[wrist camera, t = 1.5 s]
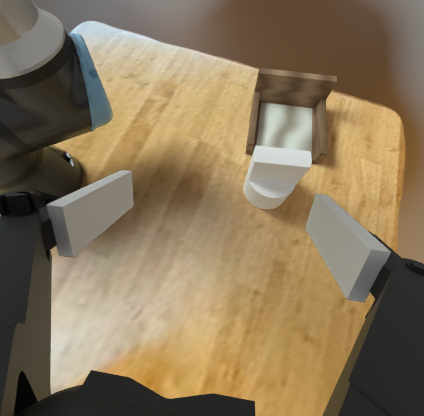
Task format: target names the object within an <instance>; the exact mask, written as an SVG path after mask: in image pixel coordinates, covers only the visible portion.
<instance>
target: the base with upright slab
mask: <svg viewBox="0 0 424 416" xmlns="http://www.w3.org/2000/svg"><path fill="white" fill-rule="evenodd" d="M311 163H312V157H311V153H310V151H305V150H295V149H285V148H276V147H266V146H255V149H254V152H253V155H252V159H251V162H250V166H249V169H248V172H247V176H246V179H245V182H244V187H243V188H244V194H245V197H246V198H247V200H248V201H249V202H250V203H251V204H252V205H253V206H255V207H257V208H260V209H273V208H276V207H278V206H280V205H281V204H282V203H283V202H284V200H285V199H286V198H287V197H288V196H289V194H290V193H291V192H292V191H293V190H294V188H295V186H296V184H297V183H298V182H299V181H300V180H301V178H302V177H303V176H304V175H305V173H306V172H307V171H308V170H309V169H310V167H311Z"/></svg>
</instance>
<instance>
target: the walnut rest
mask: <svg viewBox="0 0 424 416" xmlns="http://www.w3.org/2000/svg"><path fill="white" fill-rule="evenodd" d="M336 82H337V77H336V76H328V75H319V74H310V73H300V72H292V71H282V70H273V69H264V68H259V72H258V77H257V82H256V86H255V91H254V96H253V101H252V109H251V116H250V124H249V131H248V139H247V146H246V154H251V155H253V152H254V149H255V146H266V147H276V148H285V149H295V150H305V151H310V153H311V157H312V163H316V164H319V163H320V162H321V160H322V159H323V158H324V157H325V156H326V155H327V128H326V99H327V97H328V95H329V94H330V92H331V90H332V89H333V87H334V86H335V84H336Z"/></svg>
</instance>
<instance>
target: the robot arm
mask: <svg viewBox="0 0 424 416" xmlns="http://www.w3.org/2000/svg"><path fill="white" fill-rule="evenodd" d="M112 117H113V111H112V108H111V106H110V103H109V100H108V98H107V95H106V93H105V90H104V88H103V85H102V83H101V80H100V78H99V76H98V73H97V71H96V68H95V66H94V63H93V60H92V58H91V56H90V53H89V51H88V48H87V46H86V44H85V41H84V39H83V37H82V36H81V35H79V34H73V33H70V34H69V35H68V34H67V32H66V30H65V29H64V27H63V25H62V24H61V22H60V21H59V20H58V19H57V18H56V17H55V16H53V15H52V14H50V13H48V12H46V11H44V10H42V9H39V8H37V7H36V6H35V5H34V4H33V2H32V0H0V214H1V216H0V416H255V401H250V400H245V399H240V398H234V397H229V396H224V395H219V394H205V395H197V396H189V397H182V398H174V399H167V398H164V397H162V396H160V395H159V394H157V393H155V392H154V391H152V390H150V389H148V388H147V387H145V386H143V385H141V384H140V383H138V382H136V381H135V380H133V379H131V378H129V377H124V376H119V375H113V374H108V373H103V372H98V371H92V370H91V371H90V373H89V375H88V377H87V378H86V380H85V382H84V383H83V385H79V386H75V387H71V388H67V389H64V390H62V391H59V392H56V393H54V394H52V395H51V390H50V352H51V271H52V256H51V252H50V249H52V248H53V247H55V246H57V250H58V254H59V255H60V256H66V257H73V258H74V257H75V256H76V255H77V254H78V253H79V252H81V251H82V250H83V249H84V248H85V247H86V246H88V245H89V244H90V243H91V242H92V241H93V240H95V239H96V238H97V237H98V236H99V235H100V234H102V233H103V232H104V231H105V230H106V229H107V228H108V227H110V226H111V225H112V224H113V223H114V222H115V221H117V220H118V219H119V218H120V217H121V216H122V215H124V214H125V213H126V212H127V211H128V210H129V209H131V208H132V207H133V206H134V200H133V185H132V171H127V170H120V171H118V172H116V173H114V174H111V175H109V176H107V177H105V178H103V179H101V180H99V181H96V182H94V183H92V184H90V185H88V186H86V187H83V188H81V189H79V187H80V184H81V180H82V171H81V167H80V165H79V163H78V162H77V161H76V160H75V159H74V158H73V157H72V156H71V155H70V154H69V153H68V152H66V151H64V150H63V149H60V148H58V147H56V146H53V144H56V143H59V142H62V141H65V140H67V139H70V138H73V137H76V136H79V135H81V134H84V133H87V132H90V131H91V132H92V131H94V130H95V129H96V128H98V127H100V126H103V125H105V124H107V123H109V122H110V121H111V119H112ZM78 189H79V190H78ZM305 229H306V231H307V233H308V234H309V236H310V238H311V240H312V241H313V243H314V245H315V246H316V248H317V250H318V251H319V253H320V255H321V257H322V258H323V260H324V262H325V263H326V265H327V267H328V268H329V270H330V272H331V273H332V275H333V277H334V279H335V280H336V282H337V284H338V285H339V287H340V289H341V290H342V292H343V294H344V296H345V297H346V299H347V300H352V301H359V302H365V300H366V299H367V297H368V295H369V293H370V292H371V294H372V295H373V296H374V298H375V301H374V303H373V304H372V306H371V308H370V310H369V312H368V313H367V315H366V317H365V318H366V320H365V322H364V324H363V327H362V329H361V331H360V333H359V335H358V338H357V340H356V342H355V344H354V347H353V349H352V351H351V353H350V356H349V358H348V360H347V362H346V365H345V367H344V369H343V371H342V373H341V376H340V378H339V380H338V382H337V385H336V387H335V389H334V391H333V394H332V396H331V398H330V400H329V403H328V405H327V407H326V409H325V411H324V414H323V416H424V264H422V263H420V262H417V261H414V260H411V259H405V258H401V257H400V256H399V255H398V254H397V253H395V252H394V251H393V250H392V249H391V248H390V247H387V245H386V244H385V243H384V242H382V240H380V239H379V238H378V237H377V236H376V235H374V234H372V233H371V232H369V231H367V230H366V229H365V228H364V227H363V226H361V225H360V224H359V223H358V222H357V221H356V220H355V219H354V218H352V217H351V216H350V215H349V214H348V213H347V212H346V211H345V210H344V209H342V208H341V207H340V206H339V205H338V204H337V203H336V202H335V201H333V200H332V199H331V198H330V197H329V196H328V195H323V194H316V195H315V198H314V201H313V204H312V208H311V211H310V214H309V217H308V220H307V224H306V227H305Z"/></svg>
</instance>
